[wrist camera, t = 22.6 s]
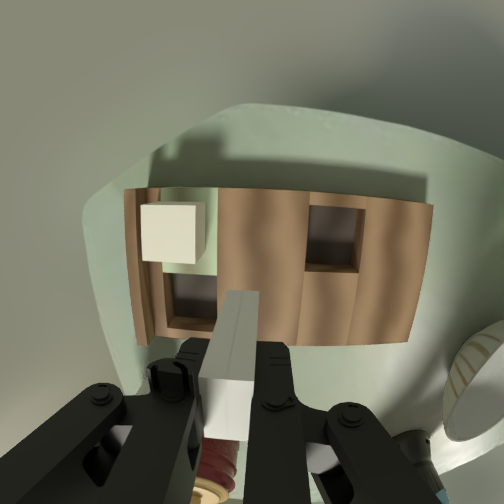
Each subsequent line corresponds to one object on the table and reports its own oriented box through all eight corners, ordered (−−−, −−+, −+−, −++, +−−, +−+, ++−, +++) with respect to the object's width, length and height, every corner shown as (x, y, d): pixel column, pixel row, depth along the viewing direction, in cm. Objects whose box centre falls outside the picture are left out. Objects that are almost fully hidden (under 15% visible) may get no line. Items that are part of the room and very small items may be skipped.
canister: (205, 405, 45) (185, 484, 28) (253, 439, 47) (249, 513, 30) (163, 428, 48) (138, 494, 30) (209, 458, 50) (196, 522, 32)
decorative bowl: (424, 322, 40) (462, 360, 28) (521, 278, 37) (559, 298, 25) (414, 422, 46) (434, 460, 34) (501, 376, 43) (526, 403, 31)
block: (205, 202, 33) (195, 205, 28) (204, 252, 34) (195, 264, 29) (157, 201, 33) (140, 204, 28) (158, 249, 34) (142, 260, 29)
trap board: (419, 202, 35) (445, 207, 28) (397, 329, 40) (415, 352, 33) (147, 187, 36) (124, 189, 30) (154, 321, 41) (137, 344, 34)
